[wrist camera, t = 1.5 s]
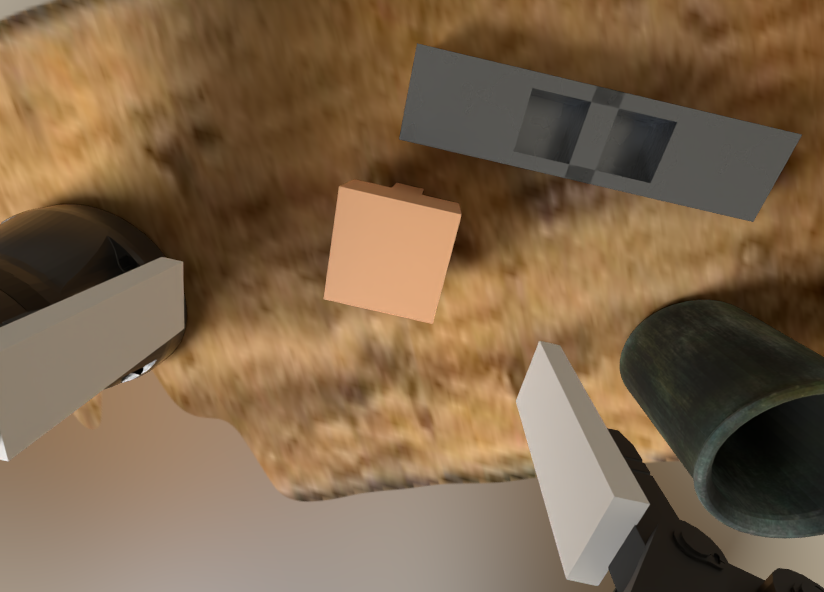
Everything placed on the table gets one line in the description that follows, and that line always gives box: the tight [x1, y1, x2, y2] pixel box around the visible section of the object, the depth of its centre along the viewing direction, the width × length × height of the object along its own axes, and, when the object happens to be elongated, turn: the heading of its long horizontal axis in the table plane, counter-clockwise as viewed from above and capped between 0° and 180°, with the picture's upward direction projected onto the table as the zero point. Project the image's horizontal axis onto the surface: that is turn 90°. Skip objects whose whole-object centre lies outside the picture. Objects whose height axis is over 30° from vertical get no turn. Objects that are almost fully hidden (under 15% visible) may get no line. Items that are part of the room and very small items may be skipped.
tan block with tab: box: [324, 179, 462, 324], centre depth 26 cm, size 7×7×7 cm
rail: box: [399, 44, 802, 222], centre depth 24 cm, size 22×5×4 cm, turn 78°
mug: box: [620, 300, 824, 538], centre depth 26 cm, size 11×15×12 cm
